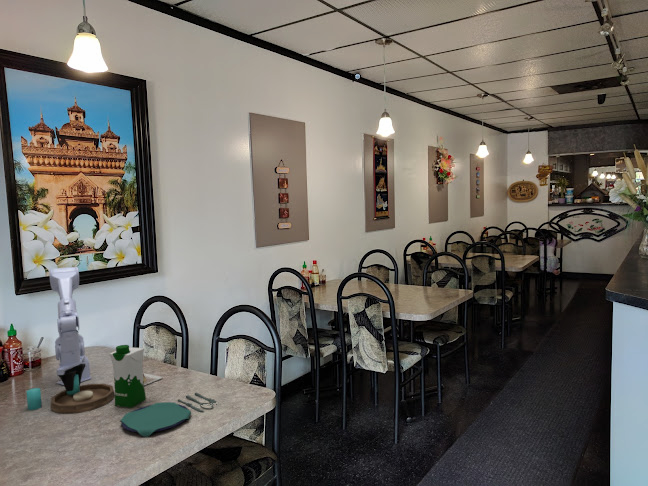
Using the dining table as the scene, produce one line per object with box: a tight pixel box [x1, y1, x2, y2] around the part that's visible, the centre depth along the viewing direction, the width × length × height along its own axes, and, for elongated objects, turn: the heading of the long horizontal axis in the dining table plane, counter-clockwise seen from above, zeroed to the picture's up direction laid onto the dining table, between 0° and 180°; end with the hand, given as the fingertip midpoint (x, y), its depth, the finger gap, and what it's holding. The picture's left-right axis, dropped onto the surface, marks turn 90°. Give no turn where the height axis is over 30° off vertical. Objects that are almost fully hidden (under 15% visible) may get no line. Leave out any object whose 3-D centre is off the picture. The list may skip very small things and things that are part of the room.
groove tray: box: [50, 383, 115, 415], centre depth 163 cm, size 20×20×2 cm
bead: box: [25, 387, 43, 411], centre depth 159 cm, size 4×4×6 cm
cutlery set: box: [119, 392, 218, 438], centre depth 150 cm, size 20×30×2 cm, turn 138°
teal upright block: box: [67, 374, 80, 395], centre depth 166 cm, size 4×4×6 cm
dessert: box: [143, 372, 164, 387], centre depth 181 cm, size 12×12×5 cm
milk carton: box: [109, 344, 147, 409], centre depth 160 cm, size 9×9×20 cm
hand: (73, 388), depth 166 cm, fingers closed on teal upright block, 4 cm apart
